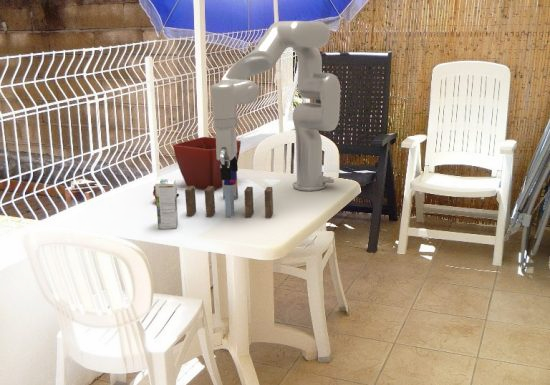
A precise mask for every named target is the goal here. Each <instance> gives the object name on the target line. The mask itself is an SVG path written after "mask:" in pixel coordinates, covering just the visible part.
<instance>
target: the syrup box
mask: <svg viewBox="0 0 550 385" xmlns="http://www.w3.org/2000/svg"><path fill="white" fill-rule="evenodd" d="M154 186H155V189H156V199H155V201H156V215H157V218H156V219H157V228H158V230H167V229H170V230H171V229H177V227H178V224H179V218H178V215H179V214H178V197H176V194H177V193H176V189H177V185H176V179H174V178H172V179H171V178H162V179H157V180H156V183H155V184H154Z"/></svg>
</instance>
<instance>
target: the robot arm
mask: <svg viewBox="0 0 550 385" xmlns="http://www.w3.org/2000/svg"><path fill="white" fill-rule="evenodd" d="M330 39H331V31H330V28H329V26H328V25H327V24H326V23H325V22H323V21H306V20H282V21H281V20H280V21H276V22H274V23H272V24H271V25H270V26H268V29H267V30H266V31H265V33H264V34H263V36H262V37H261V39H260V40H259V42H258V43H257V44H256V45H255V47H254V49H253V50H252V51H251V52H250V53H248V54H246V55H244V56H243V57H241V58H240V59H239V60H237V61H236V62H235V63H234V64H233V63H232V65H231V66H230V67H229V68H228V69H227V70H226V72H225V73H224V75H223V76H222V78H220V80H219V83H217V82H216V83H214V84H212V85H211V87H210V94H211V95H210V96H211V106H212V107H211V108H212V117H213V120H212V121H213V129H214V130H216V131H215V138H216V155H217V160H218V161H219V160H220V161H221V162H220V169H221V179H222V180H231V179H232V177H231V172H235V171H237V172H238V171H239V166H238V162H237V155H236V154H237V140H238V139H237V134H236V133H237V132H236V129H237V128H239V125H238V124H239V122H238V111H237V109H238V108H237V105H249V104H252V103H255V101H256V100H257V99H258V98H259V95H260V89H259V88H260V87H259V86H258V84H257V83H255V81H253V80H250V79H249V78H252V77H253V76H256V75H259V74H263V73H265V72H268V71H269V70H271V69H273V68H274V67H275V66H276V64H277V62H278V61H279V60H280V59H281V57H282V55H283V54H284V52H285V51H286V50H287V49H288V48H292V49H293V51H294V53H295V54H296V57H297V92H298V95H299V96H300V97H301V98H302V99H303V98H304V99H308V100H318V101H320V103H318V102H301V103H299V104H297V105H296V106H295V107H294V109H293V112H292V121H293V124H294V125H293V126H294V130H295V146H296V147H295V148H296V150H295V151H296V152H295V154H296V155H295V156H296V181H294V182H293V183H292V188H293V189H295V190H299V191H304V192H305V191H307V192H311V191H320V190H323V189H325V188H326V187H327V183H329V184H334V183H335V178H334V177H331V176H325V175H324V173H323V153H322V152H323V150H322V149H323V148H322V147H323V141H322V140H323V139H322V136H321V134H320V132H319V131H321V132H332V131H333V130H335V129H336V128H337V126H338V124H339V120H340V108H341V106H340V105H341V84H340V83H341V82H340V81H339V79H338V76H337V75H335V74H334V73H329V72H323V67H322V66H323V62H322V61H323V60H322V54H321V53H320V50H319V48H323V47H325V46H326V45H327V44H328V42H329V41H330ZM226 161H227V162H226Z"/></svg>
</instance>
